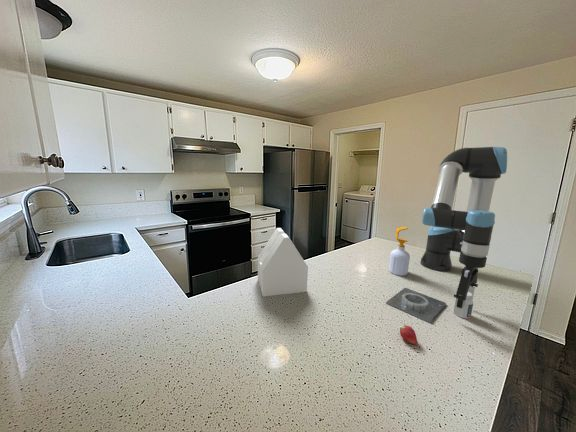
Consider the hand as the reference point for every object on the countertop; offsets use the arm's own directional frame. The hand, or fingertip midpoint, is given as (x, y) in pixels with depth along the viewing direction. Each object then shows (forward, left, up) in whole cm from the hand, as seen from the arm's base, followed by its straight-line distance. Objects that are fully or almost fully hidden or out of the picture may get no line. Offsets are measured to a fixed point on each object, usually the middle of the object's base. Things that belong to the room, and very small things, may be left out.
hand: (463, 307), depth 88 cm
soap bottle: (-19, -32, -3) cm, 37 cm away
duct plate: (+6, -14, -3) cm, 15 cm away
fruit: (+30, -8, -3) cm, 31 cm away
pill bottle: (0, 0, -3) cm, 3 cm away
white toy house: (+38, -60, -3) cm, 71 cm away
